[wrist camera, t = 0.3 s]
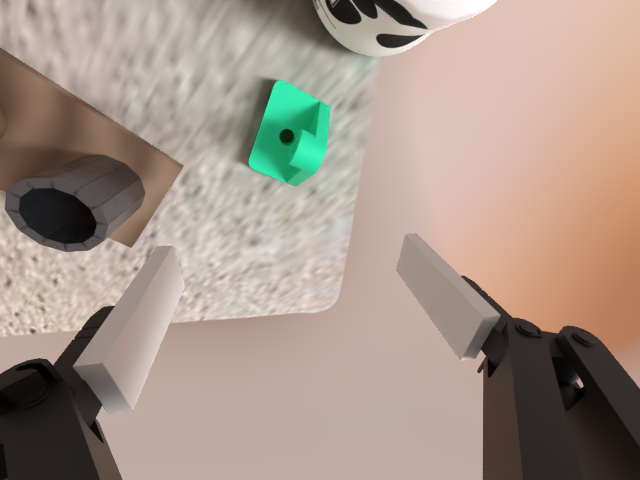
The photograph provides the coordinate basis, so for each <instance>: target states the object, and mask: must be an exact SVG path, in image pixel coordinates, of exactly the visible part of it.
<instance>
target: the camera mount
mask: <svg viewBox="0 0 640 480" xmlns="http://www.w3.org/2000/svg"><path fill="white" fill-rule="evenodd" d="M329 117H330V106H328V105H326V104H325V103H323V102H321V101H319V100H317V99H316V98H314V97H312V96H310V95H308V94H307V93H305V92H303V91H301V90H299V89H298V88H296V87H294V86H292V85H290V84H289V83H287V82H285V81H282V80H280V81H277V82H276V83H275V84H274V86H273V89H272V92H271V95H270V98H269V101H268V104H267V107H266V110H265V113H264V116H263V119H262V122H261V124H260V127H259V130H258V133H257V136H256V140H255V143H254V146H253V149H252V152H251V155H250V158H249V165H250V167H251V168H252V169H254V170H256V171H259V172H261V173H264V174H266V175H269V176H271V177H274V178H276V179H279V180H281V181H284V182H286V183H289V184H291V185H294V186H297V185H298V184H300V183H301V182H303V181H304V180H306V179H307V178H309V177H310V176H311V175H313V174H314V173H315V172H316V171H317V170H318V168H319V166H320V165H321V162H322V160H323V158H324V155H325V152H326V148H327V138H328V128H329ZM284 129H290V130H291V131H293V134H294V136H293V139H292V141H290V142H288V143H285V142H282V141H281V140H280V138H279V136H280V133H281V131H283V130H284Z"/></svg>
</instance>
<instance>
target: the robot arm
mask: <svg viewBox="0 0 640 480" xmlns="http://www.w3.org/2000/svg"><path fill="white" fill-rule="evenodd" d="M396 271H397V272H398V273H399V275H400V276H401V278H402V279H403V280H404V282H405V283H406V285H407V286H408V287H409V289H410V290H411V292H412V293H413V295H414V296H415V297H416V299H417V300H418V302H419V303H420V304H421V306H422V307H423V308H424V310H425V311H426V312H427V314H428V316H429V317H430V318H431V320H432V321H433V323H434V324H435V325H436V327H437V328H438V330H439V331H440V332H441V334H442V335H443V337H444V338H445V339H446V341H447V342H448V344H449V345H450V346H451V348H452V349H453V350H454V352H455V353H456V355H457V356H458V357H459V359H460V360H461V361H462V360H467V359H475V358H476V357H477V355H478V353H479V352H480V350H482V351H483V353H484V354H485V355H486V357H485V359H484V360H483V362H482V363H481V365H480V367H479V368H478V371H477V372H478V373H480V372H481V371H482V369H483V370H484V371H483V373H484V375H483V377H484V378H483V480H640V389H639V388H638V386H637V385H636V383H635V382H634V381H633V380H632V379H631V377H630V376H629V375H628V373H627V372H626V371H625V370H624V369H623V367H622V366H621V365H620V364H619V362H618V361H617V360H616V359H615V358H614V356H613V355H612V354H611V352H610V351H609V350H608V349H607V347H606V346H605V345H604V344H603V343H602V342H601V341H600V340H599V339H598V338H597V337H595V336H594V335H593V334H591V333H590V332H588V331H585V330H584V329H581V328H578V327H575V326H565V327H563V328H562V329H561V331H560V332H559V333H551V332H545V331H541V330H540V329H539V328H538V327H537V326H536V325H534V324H533V323H531V322H529V321H526V320H524V319H520V318H512V317H511V316H510V315H509V314H508V313H507V312H506V311H505V310H504V309H503V308H502V307H501V306H500V305H498V304H497V303H496V302H495V301H494V300H493V299H492V298H491V297H490V296H488V294H487V293H486V292H485V291H483V290H482V289H481V288H480V287H479V286H478V285H477V284H476V283H475V282H474V281H472V280H470V279H468V278H467V277H465V276H460V275H459V274H458V273H457V272H456V271H455V270H454V269H453V268H452V267H451V266H449V265H448V264H447V263H446V262H445V261H444V260H443V259H442V258H441V257H440V256H439V255H438V254H437V253H436V252H435V251H434V250H433V249H432V248H431V247H430V246H429V245H428V244H427V243H426V242H425V241H424V240H422V238H421V237H419V236H418V235H417V234H406V235H405V238H404V242H403V246H402V249H401V253H400V258H399V261H398V265H397V269H396ZM184 287H185V285H184V282H183V278H182V275H181V271H180V268H179V265H178V261H177V258H176V254H175V251H174V247H173V246H157V247H156V248H155V250H154V251H153V253H152V254H151V255H150V257H149V258H148V260H147V261H146V263H145V264H144V265H143V267H142V268H141V270H140V271H139V273H138V274H137V275H136V277H135V278H134V280H133V281H132V283H131V284H130V285H129V287H128V288H127V290H126V291H125V293H124V294H123V295H122V297H121V298H120V300H119V301H118V303H117V304H116V305H115V306H107V307H103V308H101V309H100V310H99V311H98V312H96V313H95V314H94V315H92V316H91V317H90V318H89V320H88V321H87V322H86V323H85V325H84V326H83V327H82V330H80V331H79V333H78V334H77V335H76V336H75V339H74V340H72V341H71V343H70V344H69V345H68V347H67V348H66V349H65V351H64V352H63V353H62V354H61V356H60V357H59V358H58V360H57V361H56V362H55V363H54V365H52V364H51V363H50V362H49V361H48V360H47V359H40V358H38V359H33V360H28V361H25V362H23V363H20V364H18V365H15V366H13V367H12V368H10V369H8V370H6V371H4V372H3V373H1V374H0V480H122V477H121V475H120V473H119V470H118V468H117V465H116V463H115V460H114V458H113V456H112V453H111V451H110V448H109V446H108V443H107V441H106V439H105V437H104V434H103V431H102V429H101V427H100V424H99V422H98V421H97V419H96V416H97V414H98V412H99V410H100V409H101V407H102V406H103V408H104V409H105V410H106V412H107V413H108V414H114V413H120V412H127V411H133V409H134V407H135V404H136V402H137V400H138V397H139V395H140V392H141V390H142V388H143V385H144V383H145V380H146V378H147V375H148V373H149V371H150V369H151V366H152V364H153V361H154V359H155V356H156V354H157V352H158V349H159V347H160V345H161V342H162V340H163V337H164V335H165V332H166V330H167V328H168V325H169V323H170V321H171V318H172V316H173V313H174V311H175V309H176V306H177V304H178V301H179V299H180V297H181V294H182V292H183V289H184ZM579 378H580V379H581V381H582V383H583V385H584V387H583V388H580V386H579V385H578V384H577V382H576V381H577V380H578V379H579Z"/></svg>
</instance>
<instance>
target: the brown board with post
mask: <svg viewBox="0 0 640 480" xmlns="http://www.w3.org/2000/svg"><path fill="white" fill-rule="evenodd" d="M91 155H107V156H109V157H112V158H114V159H116V160H119V161H121V162H123V163H126V164H127V165H128V166H129V167H130V168H131V169H132V170H133V171H134V172H135V173H136V174H137V175H138V176H139V177H140V179H141V181H142V184H143V187H144V190H145V197H144V200H143V203H142V206H141V207H140V208H139V209H138V210H137V211H136V212H135V213H134V214H132V215H131V216H130V217H129V218H128V219H127V220H126V221H125V222H124V223H123V224H122V225H121V226H120V227H118V228H117V229H116V230H115V231H114V232H113V233H112V234H111V235H110V236H109V237H108V238H111V239H113V240H115V241H117V242H120V243H122V244H124V245H126V246H128V247H132V246H133V245H134V244H135V243H136V241H137V239H138V238H139V236H140V235H141V233H142V231H143V230H144V228H145V227H146V225H147V224H148V222H149V220H150V219H151V217H152V216H153V214H154V212H155V211H156V209H157V208H158V206H159V205H160V203H161V201H162V200H163V198H164V197H165V195H166V193H167V192H168V190H169V189H170V187H171V186H172V184H173V182H174V181H175V179H176V178H177V176H178V174H179V173H180V171H181V170H182V168H183V165H182V164H180V163H179V162H177V161H176V160H174V159H172V158H171V157H169V156H168V155H166V154H165V153H163V152H162V151H160V150H158V149H157V148H155V147H154V146H152V145H151V144H149V143H148V142H146V141H144V140H143V139H141V138H140V137H138V136H137V135H135V134H134V133H132V132H131V131H129V130H127V129H126V128H124V127H123V126H121V125H120V124H118V123H117V122H115V121H113V120H112V119H110V118H109V117H107V116H106V115H104V114H103V113H101V112H99V111H98V110H96V109H95V108H93V107H92V106H90V105H89V104H87V103H85V102H84V101H82V100H81V99H79V98H78V97H76V96H75V95H73V94H71V93H70V92H68V91H67V90H65V89H64V88H62V87H61V86H59V85H57V84H56V83H54V82H53V81H51V80H50V79H48V78H47V77H45V76H43V75H42V74H40V73H39V72H37V71H36V70H34V69H33V68H31V67H30V66H28V65H26V64H25V63H23V62H22V61H20V60H19V59H17V58H16V57H14V56H12V55H11V54H9V53H8V52H6V51H5V50H3V49H2V48H0V189H2V190H4V191H7V190H8V189H9V188H11V187H12V186H14V185H15V184H17V183H18V182H19V181H21V180H22V179H24V178H27V177H29V176H32V175H35V174H38V173H40V172H43V171H46V170H49V169H51V168H54V167H57V166H60V165H62V164H65V163H68V162H71V161H73V160H76V159H79V158H82V157H84V156H91Z"/></svg>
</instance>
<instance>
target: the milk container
mask: <svg viewBox="0 0 640 480" xmlns="http://www.w3.org/2000/svg"><path fill="white" fill-rule="evenodd" d="M312 1H313V4H314V6H315V9H316V11H317V13H318V15H319V17H320V19H321V21H322V23H323V24H324V26H325V27H326V29H327V30H328V31H329V33H330V34H331V35H332V36H333V37H334V38H335V39H336V40H337V41H338V42H339V43H341V44H342V45H343V46H345V47H346V48H348V49H350V50H352V51H354V52H356V53H359V54H362V55H366V56H372V57H384V56H390V55H395V54H398V53H401V52H404V51H406V50H408V49H410V48H411V47H413V46H415V45H417V44H418V43H420V42H421V41H423V40H424V39H425V38H426V37H427V36H429V35H430V34H431V33H432V32H434V31H438V30H440V29H443V28H446V27H448V26H451V25H453V24H454V23H457V22H461V21H464V20H467V19H470V18H472V17H474V16H475V15H477V14H479V13H481V12H483V11H484V10H485V9H487V8H488V7H489V6H491V5H492V4H494V3H495V2H496V1H498V0H312Z"/></svg>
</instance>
